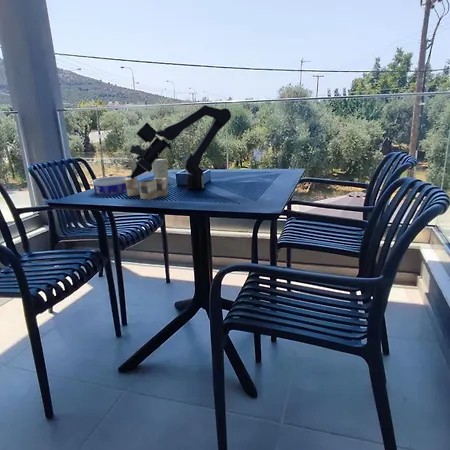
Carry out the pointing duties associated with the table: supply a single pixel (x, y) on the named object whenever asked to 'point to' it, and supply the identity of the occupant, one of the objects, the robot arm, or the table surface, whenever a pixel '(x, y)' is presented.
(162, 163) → the skincare box
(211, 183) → the table surface
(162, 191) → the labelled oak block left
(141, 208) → the table surface
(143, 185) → the labelled oak block near
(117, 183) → the dog bowl
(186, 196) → the table surface
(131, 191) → the plain oak block
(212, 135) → the robot arm
